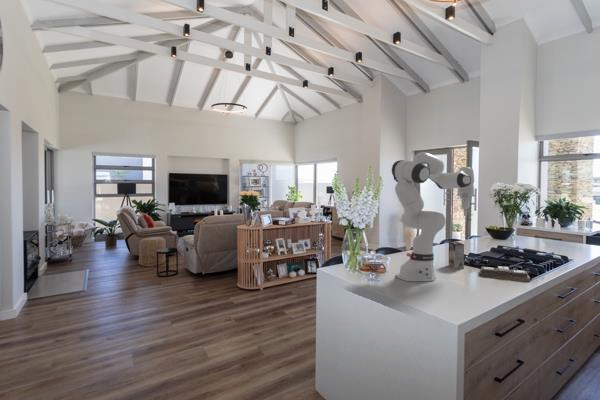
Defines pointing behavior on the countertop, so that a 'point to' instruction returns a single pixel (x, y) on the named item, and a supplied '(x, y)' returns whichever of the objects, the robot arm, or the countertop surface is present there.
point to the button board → (504, 274)
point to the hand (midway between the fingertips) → (465, 215)
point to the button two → (518, 271)
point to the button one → (503, 268)
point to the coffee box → (456, 255)
